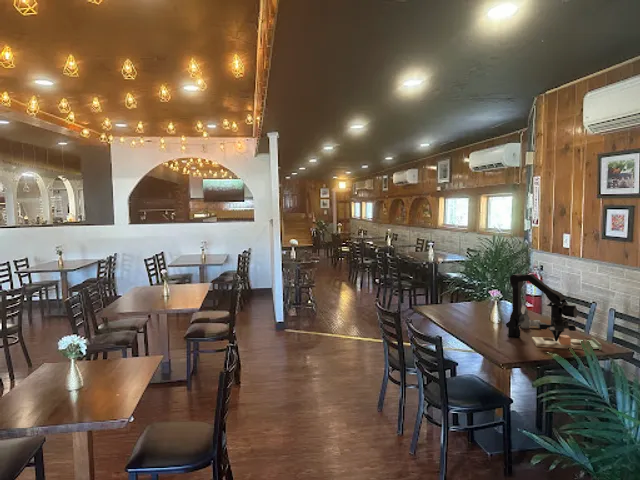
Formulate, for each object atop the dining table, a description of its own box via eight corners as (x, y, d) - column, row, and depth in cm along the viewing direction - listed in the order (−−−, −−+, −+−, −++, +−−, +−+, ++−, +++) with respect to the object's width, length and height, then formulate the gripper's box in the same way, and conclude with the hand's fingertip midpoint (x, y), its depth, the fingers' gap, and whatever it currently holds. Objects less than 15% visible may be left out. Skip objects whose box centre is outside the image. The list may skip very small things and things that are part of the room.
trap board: (536, 346, 247) (536, 340, 247) (531, 340, 260) (531, 334, 259) (601, 350, 238) (601, 344, 238) (593, 343, 251) (593, 337, 250)
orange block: (560, 344, 244) (561, 337, 244) (558, 341, 249) (558, 334, 249) (570, 344, 243) (570, 337, 243) (568, 342, 248) (568, 335, 248)
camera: (541, 329, 281) (541, 307, 280) (522, 329, 284) (522, 307, 283) (537, 326, 290) (537, 304, 289) (519, 325, 292) (519, 304, 291)
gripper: (542, 317, 241) (541, 344, 242) (579, 318, 236) (578, 346, 237) (537, 312, 252) (537, 338, 253) (573, 314, 247) (572, 340, 248)
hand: (556, 341), depth 247 cm, fingers closed
